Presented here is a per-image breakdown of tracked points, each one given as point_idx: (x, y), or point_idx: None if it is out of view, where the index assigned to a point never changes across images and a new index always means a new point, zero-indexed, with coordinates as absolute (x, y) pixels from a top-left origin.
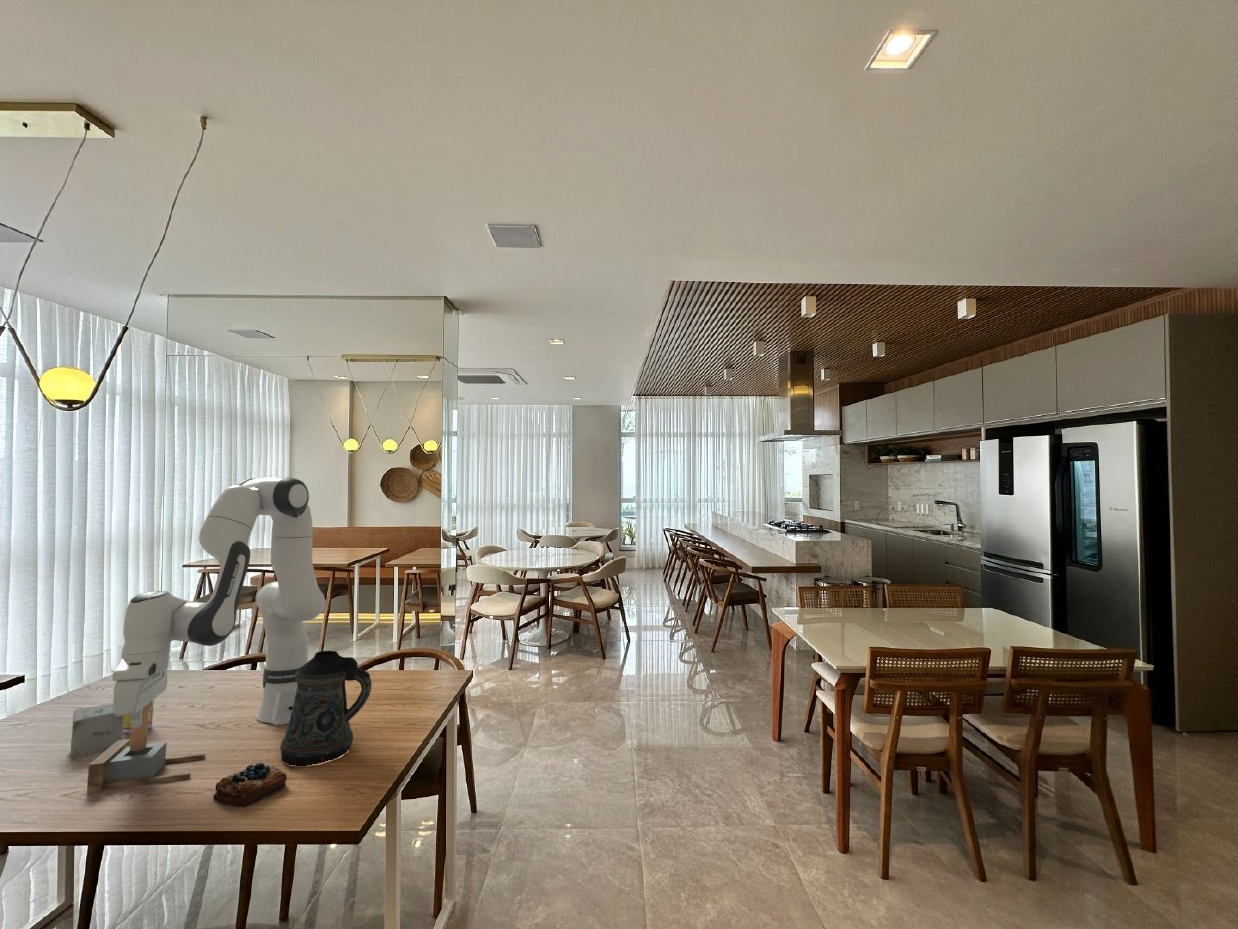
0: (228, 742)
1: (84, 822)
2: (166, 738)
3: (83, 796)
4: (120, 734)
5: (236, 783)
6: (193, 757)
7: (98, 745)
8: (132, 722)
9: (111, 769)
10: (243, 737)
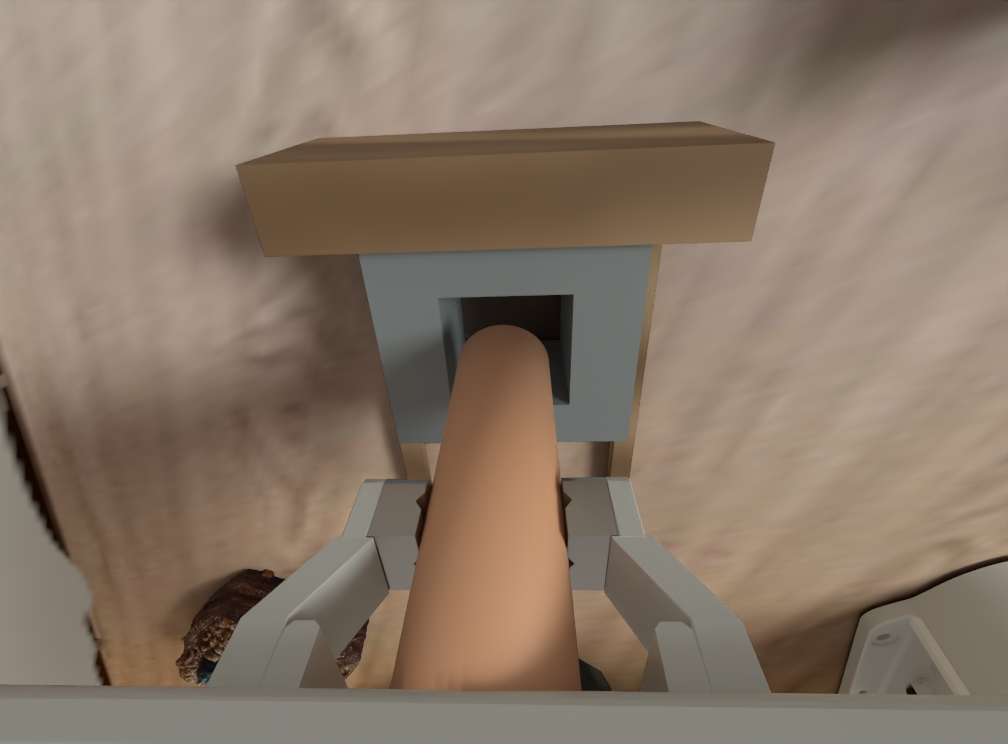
0: (768, 517)
1: (43, 279)
2: None
3: (286, 136)
4: None
5: (197, 663)
6: (610, 464)
7: None
8: (349, 525)
9: None
10: (798, 547)
